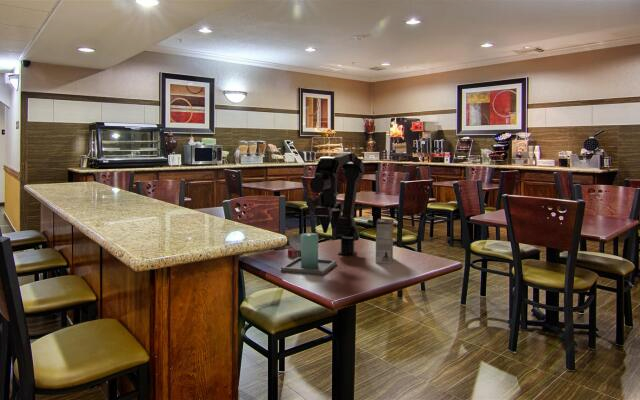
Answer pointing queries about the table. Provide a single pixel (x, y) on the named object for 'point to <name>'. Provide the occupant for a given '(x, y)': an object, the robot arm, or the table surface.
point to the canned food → (295, 246)
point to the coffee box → (384, 241)
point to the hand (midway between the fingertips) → (329, 230)
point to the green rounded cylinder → (309, 250)
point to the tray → (320, 270)
